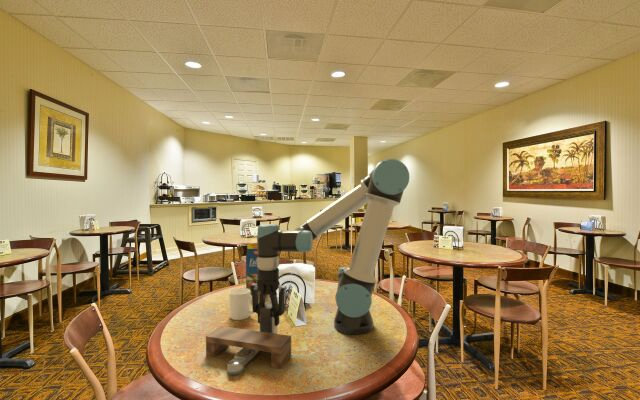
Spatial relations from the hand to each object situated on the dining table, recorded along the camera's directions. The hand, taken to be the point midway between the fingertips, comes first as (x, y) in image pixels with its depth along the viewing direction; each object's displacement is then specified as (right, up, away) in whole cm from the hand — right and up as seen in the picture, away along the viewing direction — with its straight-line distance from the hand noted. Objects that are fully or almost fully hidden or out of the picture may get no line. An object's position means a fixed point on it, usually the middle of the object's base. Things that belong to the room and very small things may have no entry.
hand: (268, 332), depth 109 cm
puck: (-6, -2, -20) cm, 21 cm away
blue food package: (-15, -1, +57) cm, 59 cm away
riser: (-4, -2, -11) cm, 12 cm away
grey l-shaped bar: (-2, -1, -8) cm, 8 cm away
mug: (-14, -2, +20) cm, 24 cm away
